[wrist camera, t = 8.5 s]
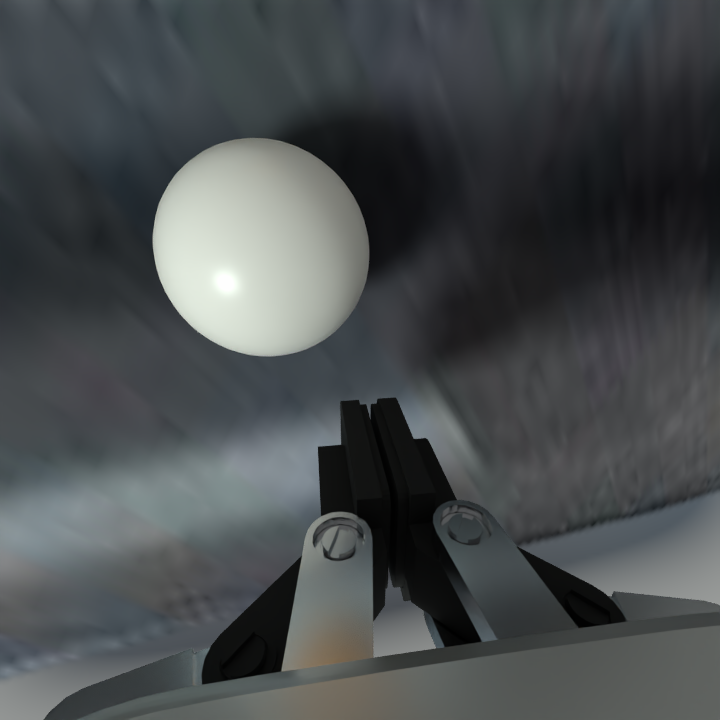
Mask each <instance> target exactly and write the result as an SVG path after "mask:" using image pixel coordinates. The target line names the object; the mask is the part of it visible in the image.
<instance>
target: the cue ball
mask: <svg viewBox="0 0 720 720" xmlns="http://www.w3.org/2000/svg"><path fill="white" fill-rule="evenodd" d="M153 251H154V257H155V263H156V268H157V271H158V275H159V278H160V281H161V283H162V285H163V288H164V290H165V292H166V294H167V295H168V297H169V299H170V300H171V302H172V304H173V305H174V306H175V308H176V309H177V310H178V312H179V313H180V314H181V316H182V317H183V318H184V319H185V320H186V321H187V322H188V323H189V324H190V325H191V326H192V327H193V328H194V329H196V330H197V331H198V332H199V333H201V334H202V335H204V336H205V337H206V338H208V339H210V340H211V341H213V342H215V343H217V344H219V345H221V346H223V347H225V348H228V349H230V350H233V351H236V352H240V353H244V354H249V355H256V356H279V355H287V354H291V353H296V352H299V351H302V350H305V349H308V348H310V347H312V346H314V345H316V344H318V343H320V342H321V341H323V340H324V339H326V338H327V337H329V336H330V335H331V334H333V333H334V332H335V331H336V330H337V329H338V328H339V327H340V326H341V325H342V324H343V323H344V322H345V320H346V319H347V318H348V317H349V316H350V314H351V313H352V311H353V310H354V308H355V307H356V305H357V303H358V301H359V298H360V296H361V294H362V292H363V289H364V286H365V283H366V279H367V273H368V267H369V241H368V234H367V230H366V226H365V222H364V219H363V216H362V213H361V211H360V208H359V206H358V204H357V202H356V200H355V198H354V196H353V194H352V193H351V192H350V190H349V189H348V187H347V186H346V184H345V183H344V182H343V181H342V179H341V178H340V177H339V176H338V175H337V174H336V173H335V172H334V171H333V170H332V169H331V168H330V167H329V166H327V165H326V164H325V163H324V162H323V161H321V160H320V159H318V158H317V157H315V156H314V155H312V154H311V153H309V152H307V151H305V150H303V149H301V148H299V147H297V146H294V145H291V144H288V143H285V142H282V141H278V140H272V139H266V138H245V139H237V140H231V141H228V142H224V143H221V144H217V145H215V146H213V147H211V148H209V149H207V150H204V151H203V152H201V153H200V154H198V155H197V156H195V157H194V158H193V159H191V160H190V161H189V162H187V163H186V164H185V165H184V166H183V167H182V168H181V169H180V170H179V171H178V172H177V173H176V175H175V176H174V178H173V179H172V180H171V182H170V183H169V185H168V187H167V188H166V190H165V192H164V194H163V196H162V198H161V200H160V203H159V206H158V209H157V213H156V216H155V223H154V231H153Z"/></svg>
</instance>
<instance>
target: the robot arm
mask: <svg viewBox="0 0 720 720" xmlns="http://www.w3.org/2000/svg"><path fill="white" fill-rule="evenodd" d="M340 411H341V445H334V446H322V447H318V458H319V480H320V501H321V517H320V518H319V519H317V520H316V521H314V523H313V524H312V525H311V526H310V527H309V529H308V531H307V534H306V537H305V542H304V548H303V554H302V556H301V557H300V558H299V559H298V560H297V561H296V562H295V563H294V564H293V565H292V566H291V567H290V568H289V569H288V570H287V571H286V572H285V573H283V574H282V575H281V576H280V577H279V578H278V579H277V580H276V581H275V582H274V583H273V584H272V585H271V586H270V587H269V588H268V589H267V590H266V591H265V592H264V593H263V594H262V595H261V596H260V597H259V598H258V599H257V600H256V601H255V602H253V603H252V604H251V605H250V606H249V607H248V608H247V609H246V610H245V611H244V612H243V613H242V614H241V615H240V616H239V617H238V618H237V619H236V620H235V621H234V622H233V623H232V624H231V625H230V626H229V627H228V628H227V629H226V630H224V632H222V633H221V634H220V636H219V637H218V638H217V639H216V640H215V642H214V643H213V644H212V645H211V647H210V648H207V649H204V650H202V651H199V652H196V653H194V651H193V648H191V649H188V650H186V651H183V652H180V653H178V654H175V655H172V656H169V657H167V658H164V659H161V660H159V661H156V662H153V663H150V664H148V665H145V666H143V667H140V668H137V669H134V670H132V671H129V672H126V673H123V674H121V675H118V676H115V677H113V678H110V679H108V680H105V681H102V682H99V683H96V684H94V685H91V686H88V687H86V688H83V689H81V690H79V691H78V692H75V693H74V694H72V695H70V696H68V697H66V698H65V699H64V700H63V701H62V702H60V703H59V704H58V705H57V706H56V707H55V708H53V709H52V710H51V711H50V712H49V713H48V715H47V716H46V717H45V719H44V720H720V605H718V604H715V603H711V602H707V601H700V600H691V599H682V598H672V597H663V596H653V595H644V594H634V593H624V592H615V591H614V592H613V594H612V597H610V596H607V595H606V594H604V592H602V591H600V590H599V589H597V588H596V587H594V586H593V585H591V584H589V583H587V582H585V581H583V580H581V579H579V578H577V577H575V576H573V575H571V574H569V573H567V572H565V571H563V570H561V569H560V568H558V567H556V566H554V565H552V564H550V563H548V562H546V561H544V560H542V559H540V558H538V557H536V556H534V555H532V554H530V553H528V552H526V551H525V550H523V549H521V548H519V547H517V546H516V545H515V544H514V543H513V541H512V540H511V539H510V538H509V536H508V535H507V534H506V532H505V531H504V530H503V528H502V527H501V526H500V524H499V523H498V522H497V520H496V519H495V518H494V517H493V516H492V515H491V514H490V513H489V512H488V511H487V510H486V509H485V508H483V507H481V506H480V505H478V504H475V503H472V502H470V501H464V500H457V499H456V497H455V495H454V493H453V491H452V489H451V487H450V485H449V483H448V480H447V478H446V476H445V474H444V472H443V470H442V468H441V466H440V464H439V462H438V459H437V457H436V455H435V453H434V451H433V449H432V447H431V445H430V443H429V441H428V439H426V438H422V439H413V436H412V434H411V432H410V429H409V427H408V424H407V422H406V420H405V417H404V415H403V413H402V410H401V408H400V405H399V403H398V401H397V399H396V398H382V399H378V400H377V404H371V420H370V417H369V413H368V409H367V406H366V404H363V405H360V403H359V400H352V401H341V402H340ZM388 567H389V572H390V576H391V581H392V585H393V587H400V588H401V592H402V596H403V600H404V601H408V600H411V602H412V603H414V604H415V605H416V606H418V607H419V608H421V609H422V610H424V618H425V622H426V625H427V627H428V630H429V632H430V634H431V637H432V639H433V641H434V644H435V646H436V649H431V650H423V651H416V652H409V653H403V654H396V655H389V656H382V657H375V658H373V621H374V620H375V618H376V617H377V616H378V614H379V613H380V611H381V610H382V608H383V607H384V606H385V589H386V588H387V586H388Z"/></svg>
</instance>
